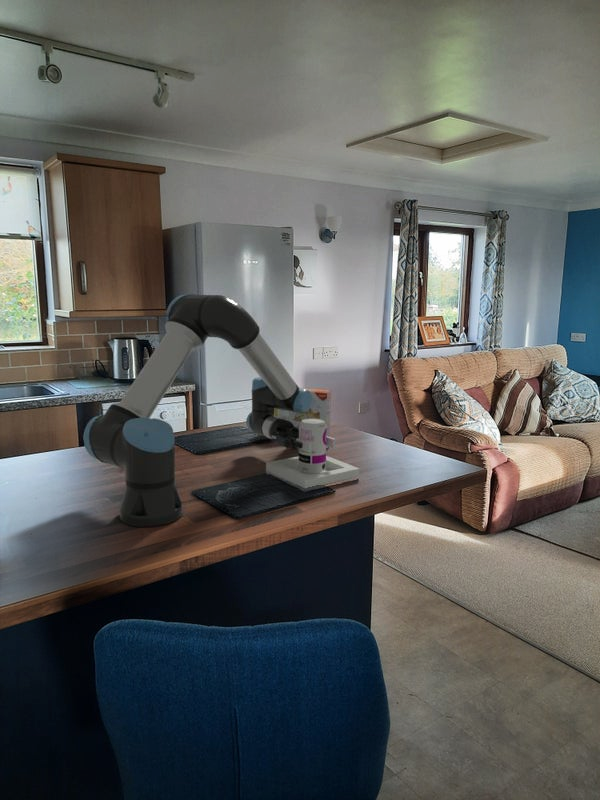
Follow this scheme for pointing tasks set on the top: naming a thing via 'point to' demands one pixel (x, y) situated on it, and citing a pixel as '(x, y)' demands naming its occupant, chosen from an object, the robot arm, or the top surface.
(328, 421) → the cracker box
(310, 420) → the supplement can
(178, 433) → the top surface
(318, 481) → the tray
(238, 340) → the robot arm
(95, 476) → the top surface
